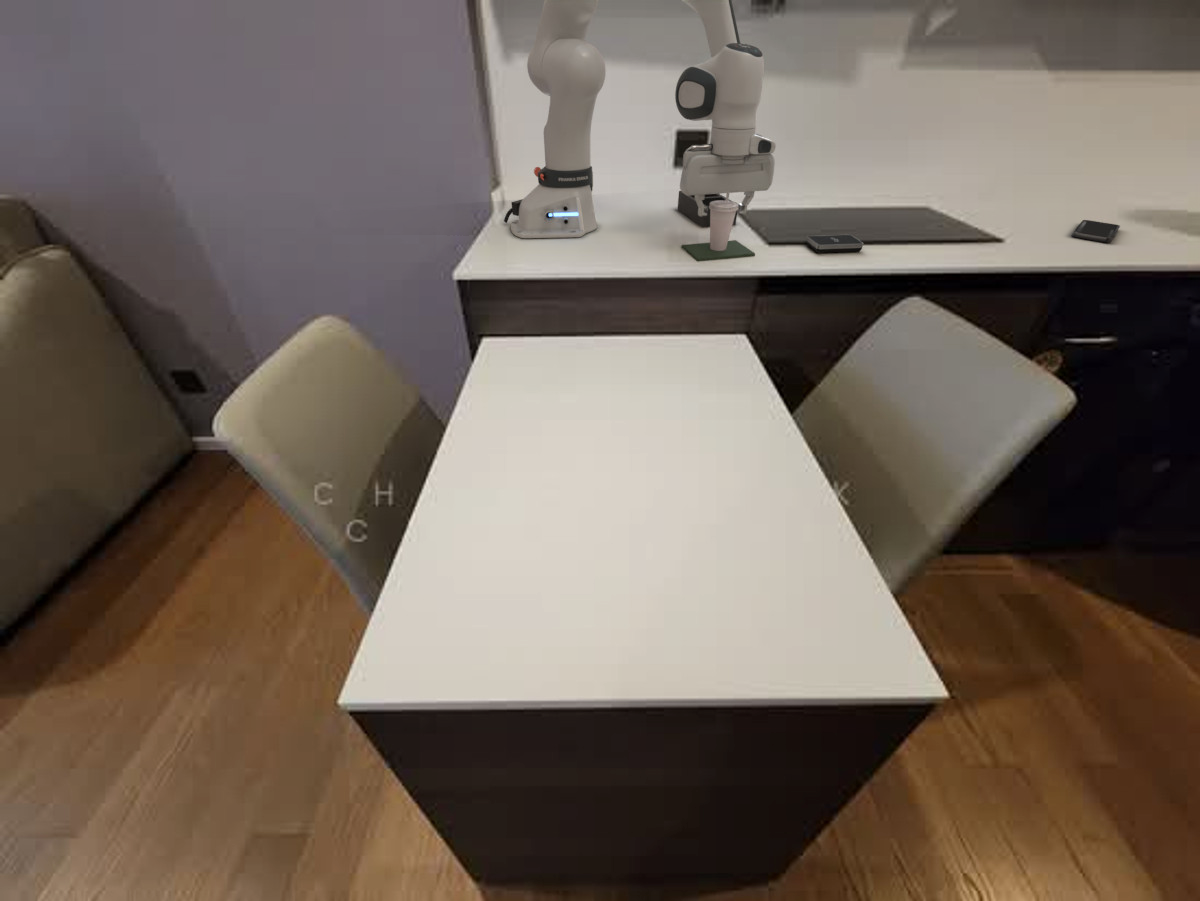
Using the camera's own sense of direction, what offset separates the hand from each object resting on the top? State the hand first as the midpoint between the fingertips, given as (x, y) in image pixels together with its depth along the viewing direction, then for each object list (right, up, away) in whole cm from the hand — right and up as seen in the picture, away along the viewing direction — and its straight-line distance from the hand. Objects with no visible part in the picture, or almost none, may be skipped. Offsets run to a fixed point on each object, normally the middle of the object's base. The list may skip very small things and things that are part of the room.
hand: (721, 214), depth 117 cm
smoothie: (0, -6, +5) cm, 8 cm away
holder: (+2, +12, +28) cm, 30 cm away
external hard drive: (+27, -5, +7) cm, 29 cm away
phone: (+97, +2, +15) cm, 98 cm away
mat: (0, -6, +5) cm, 8 cm away
